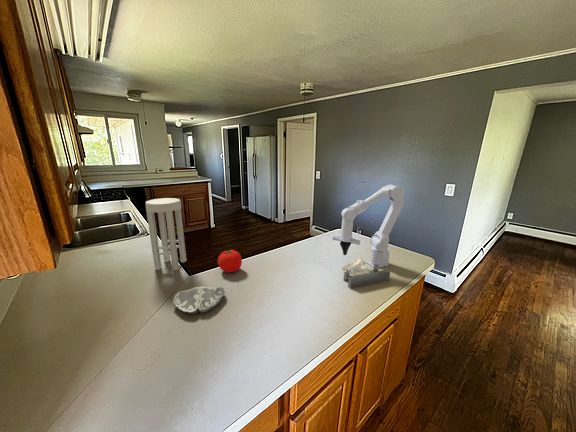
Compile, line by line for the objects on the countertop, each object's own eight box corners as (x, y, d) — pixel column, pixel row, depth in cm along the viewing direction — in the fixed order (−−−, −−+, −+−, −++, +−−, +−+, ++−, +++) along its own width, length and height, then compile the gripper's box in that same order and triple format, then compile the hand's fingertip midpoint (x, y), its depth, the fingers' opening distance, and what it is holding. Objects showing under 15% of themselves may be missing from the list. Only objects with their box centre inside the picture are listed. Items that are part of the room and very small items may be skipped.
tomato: (244, 266, 127) (244, 246, 124) (238, 277, 116) (237, 256, 113) (223, 264, 128) (222, 245, 125) (214, 275, 117) (213, 254, 114)
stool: (179, 272, 120) (171, 204, 111) (148, 271, 120) (138, 203, 111) (191, 258, 135) (185, 198, 126) (164, 258, 135) (156, 197, 126)
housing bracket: (377, 272, 123) (378, 263, 121) (388, 280, 115) (390, 271, 114) (340, 279, 115) (341, 270, 114) (350, 288, 108) (351, 279, 106)
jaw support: (364, 279, 110) (352, 261, 113) (351, 286, 116) (341, 268, 119) (377, 271, 118) (366, 254, 121) (365, 278, 124) (354, 262, 127)
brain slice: (169, 322, 86) (168, 315, 85) (177, 295, 101) (176, 289, 101) (225, 313, 91) (225, 307, 90) (224, 289, 106) (224, 283, 106)
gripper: (362, 230, 126) (360, 254, 130) (335, 226, 133) (334, 249, 137) (359, 234, 120) (357, 259, 124) (331, 230, 127) (330, 253, 131)
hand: (345, 254), depth 130 cm, fingers closed
